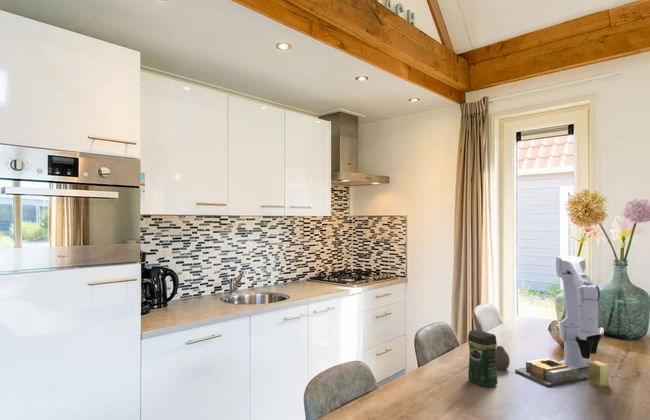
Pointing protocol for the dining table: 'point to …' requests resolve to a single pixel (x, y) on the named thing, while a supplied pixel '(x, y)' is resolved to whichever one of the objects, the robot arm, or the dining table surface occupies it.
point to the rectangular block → (598, 374)
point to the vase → (501, 359)
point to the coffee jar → (482, 358)
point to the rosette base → (548, 382)
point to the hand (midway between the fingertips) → (588, 355)
